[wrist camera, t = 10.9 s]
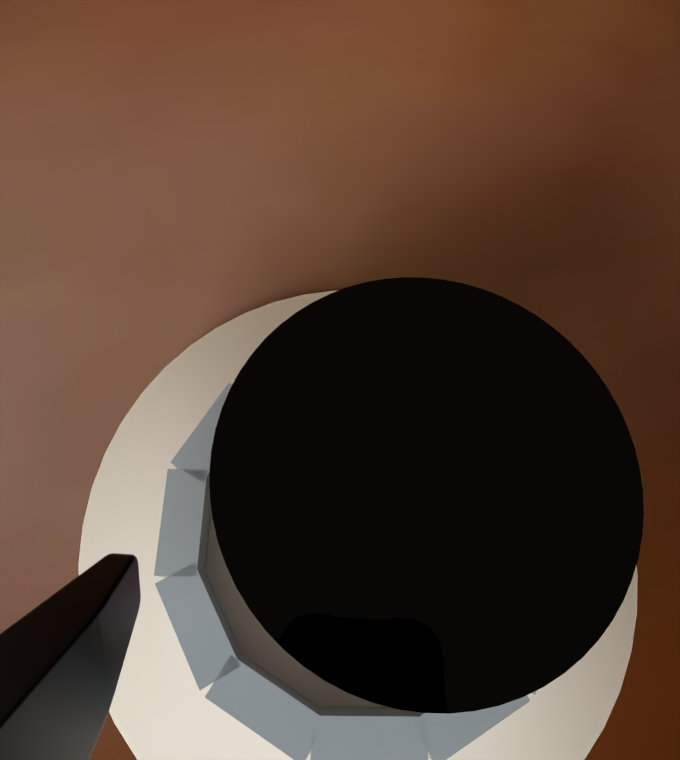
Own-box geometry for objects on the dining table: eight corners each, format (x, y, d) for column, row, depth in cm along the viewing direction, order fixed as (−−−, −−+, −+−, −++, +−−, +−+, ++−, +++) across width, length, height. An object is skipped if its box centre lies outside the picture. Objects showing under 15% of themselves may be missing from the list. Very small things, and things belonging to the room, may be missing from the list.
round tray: (668, 860, 17) (727, 902, 14) (36, 861, 16) (-11, 906, 13) (582, 312, 23) (613, 280, 21) (134, 292, 22) (114, 256, 20)
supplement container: (244, 455, 19) (184, 305, 9) (435, 421, 20) (561, 251, 10) (275, 674, 17) (239, 774, 7) (491, 625, 18) (719, 654, 8)
